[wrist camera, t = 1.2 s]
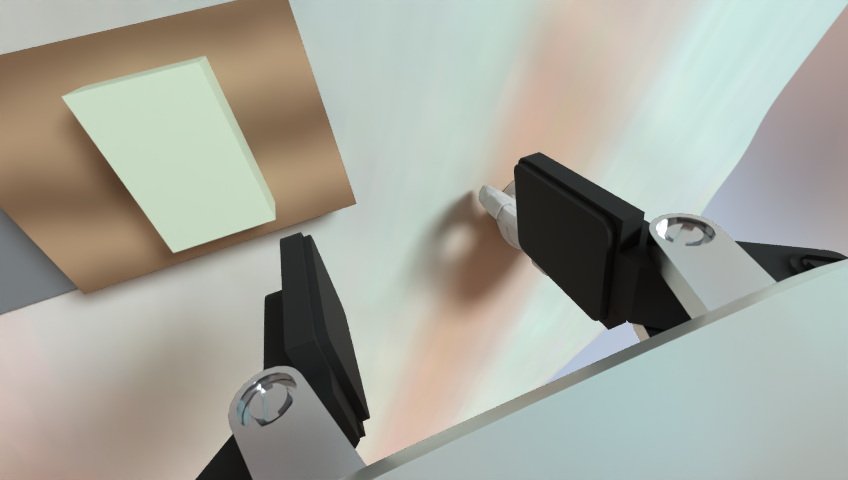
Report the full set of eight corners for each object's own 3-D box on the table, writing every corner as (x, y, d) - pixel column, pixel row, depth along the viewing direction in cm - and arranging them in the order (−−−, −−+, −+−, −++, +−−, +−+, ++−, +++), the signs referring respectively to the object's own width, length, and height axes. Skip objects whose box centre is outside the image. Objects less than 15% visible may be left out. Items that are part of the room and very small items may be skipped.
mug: (533, 247, 41) (616, 326, 31) (442, 215, 35) (508, 299, 25) (576, 183, 38) (681, 247, 28) (485, 137, 32) (578, 197, 22)
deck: (-64, 70, 20) (-120, 82, 17) (282, -10, 23) (284, -11, 20) (103, 263, 27) (84, 294, 25) (348, 184, 30) (356, 203, 27)
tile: (82, 86, 19) (61, 96, 17) (205, 55, 20) (198, 62, 18) (181, 232, 25) (173, 253, 23) (275, 202, 26) (275, 219, 24)
